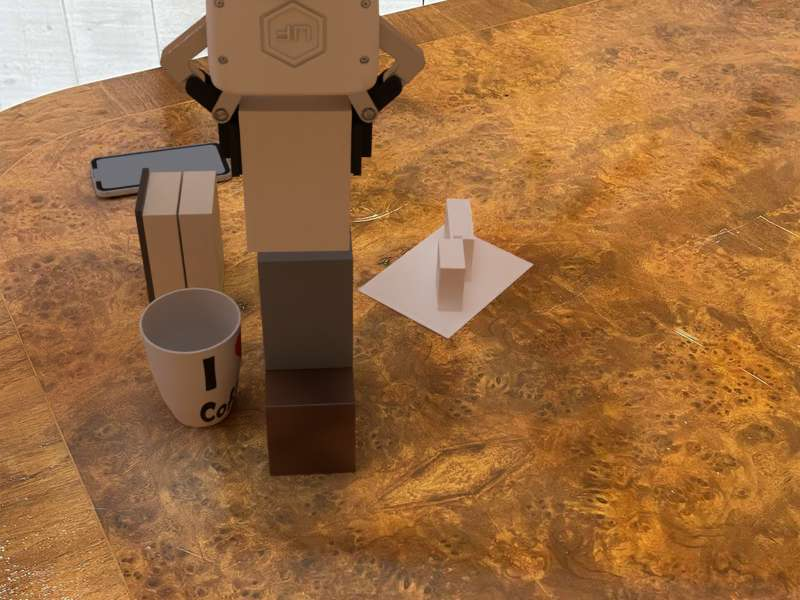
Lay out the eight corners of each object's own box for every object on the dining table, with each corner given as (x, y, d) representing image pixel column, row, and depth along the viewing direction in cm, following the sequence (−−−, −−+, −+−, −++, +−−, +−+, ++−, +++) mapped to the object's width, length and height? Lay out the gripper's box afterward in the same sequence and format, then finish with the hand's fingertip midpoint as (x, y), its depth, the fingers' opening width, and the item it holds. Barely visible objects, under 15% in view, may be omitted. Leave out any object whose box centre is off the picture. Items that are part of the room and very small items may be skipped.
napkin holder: (444, 222, 114) (447, 177, 111) (534, 263, 109) (541, 218, 106) (356, 290, 105) (356, 244, 102) (450, 339, 100) (453, 292, 96)
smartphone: (234, 174, 119) (96, 193, 115) (234, 181, 120) (97, 201, 115) (220, 140, 124) (88, 157, 120) (220, 147, 125) (89, 164, 121)
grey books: (265, 370, 85) (256, 256, 77) (266, 312, 90) (258, 200, 83) (353, 367, 85) (353, 253, 78) (349, 309, 91) (348, 198, 83)
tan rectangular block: (247, 252, 73) (238, 111, 66) (248, 226, 75) (239, 87, 68) (349, 251, 73) (351, 111, 66) (347, 225, 76) (349, 87, 69)
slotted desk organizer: (150, 309, 102) (134, 210, 95) (156, 264, 108) (142, 167, 100) (276, 305, 103) (270, 207, 96) (276, 260, 109) (270, 164, 101)
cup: (211, 454, 88) (199, 366, 82) (134, 417, 91) (117, 330, 85) (267, 394, 94) (260, 308, 87) (193, 361, 97) (181, 276, 90)
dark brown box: (269, 475, 87) (264, 407, 82) (270, 373, 96) (266, 305, 91) (355, 472, 87) (355, 403, 82) (348, 370, 97) (348, 303, 91)
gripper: (122, -83, 55) (157, 199, 67) (454, -80, 57) (433, 196, 68) (137, -133, 61) (167, 135, 72) (439, -128, 63) (422, 134, 74)
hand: (296, 163), depth 70 cm, fingers closed on tan rectangular block, 7 cm apart
